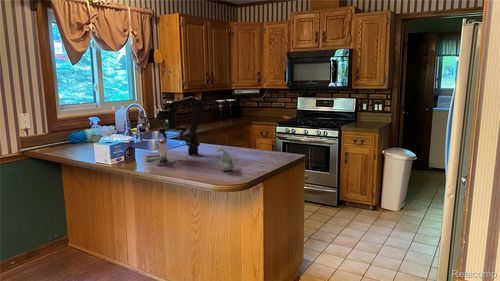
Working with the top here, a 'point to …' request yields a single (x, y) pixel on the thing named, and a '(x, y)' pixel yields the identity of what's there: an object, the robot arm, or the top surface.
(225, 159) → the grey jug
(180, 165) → the top surface
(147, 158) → the tray
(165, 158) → the pin
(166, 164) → the receiver socket
